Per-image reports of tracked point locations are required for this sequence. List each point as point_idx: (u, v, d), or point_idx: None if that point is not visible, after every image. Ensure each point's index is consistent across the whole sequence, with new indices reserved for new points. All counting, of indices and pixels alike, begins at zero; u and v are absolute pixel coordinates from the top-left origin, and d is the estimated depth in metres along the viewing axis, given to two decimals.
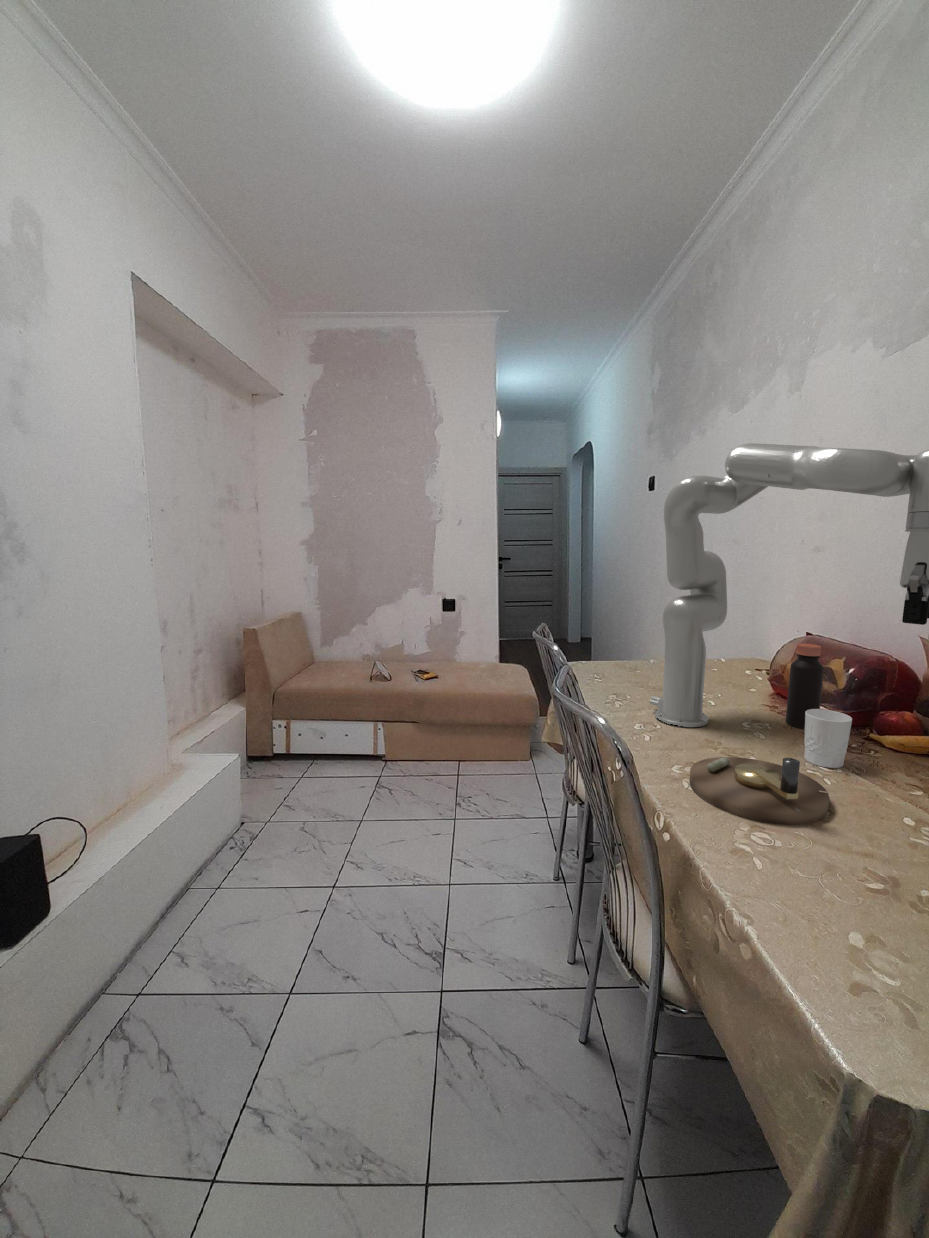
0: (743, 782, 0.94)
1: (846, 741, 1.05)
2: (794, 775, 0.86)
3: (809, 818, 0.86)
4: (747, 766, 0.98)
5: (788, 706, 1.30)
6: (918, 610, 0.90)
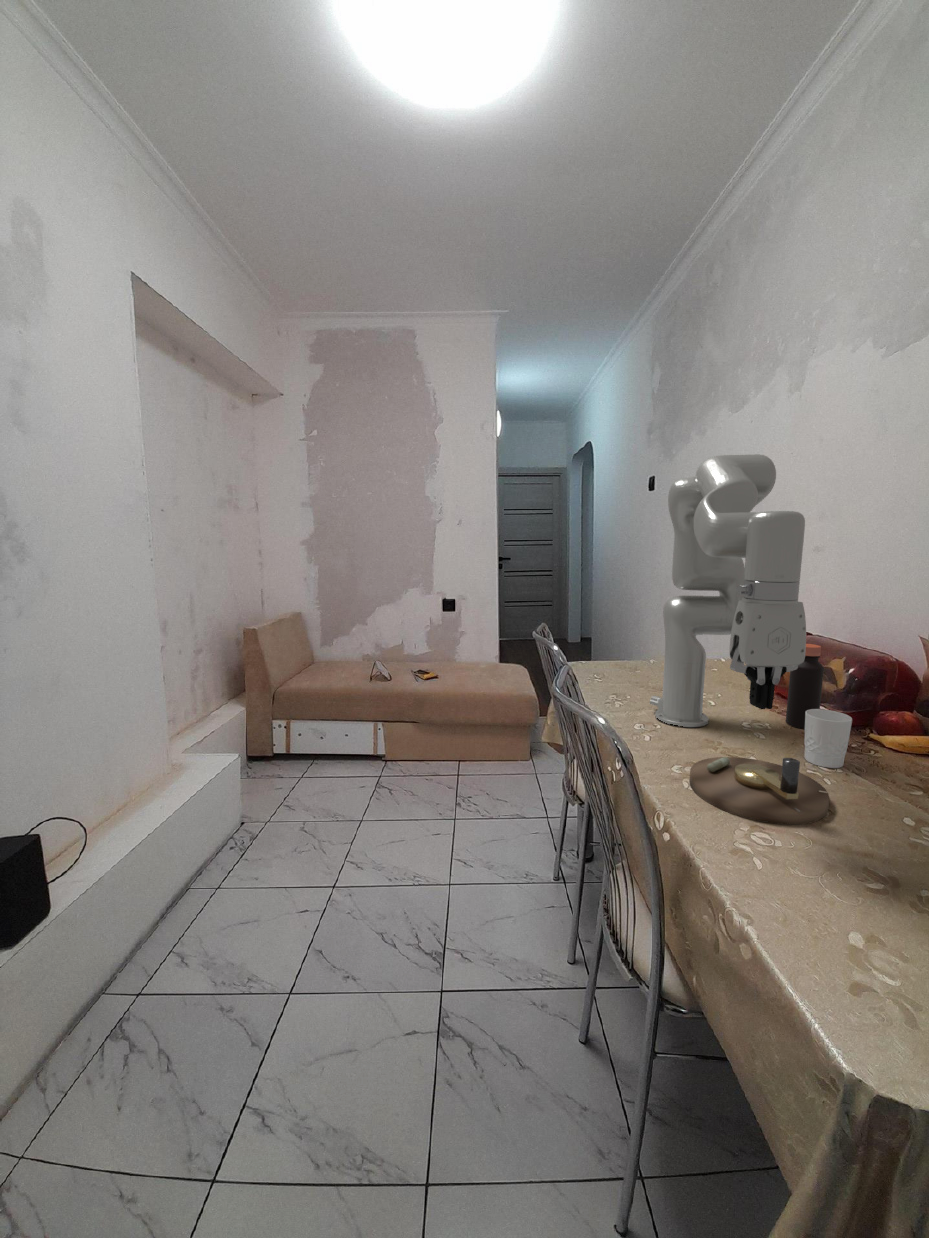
0: (743, 782, 0.94)
1: (846, 741, 1.05)
2: (794, 775, 0.86)
3: (809, 818, 0.86)
4: (747, 766, 0.98)
5: (788, 706, 1.30)
6: None
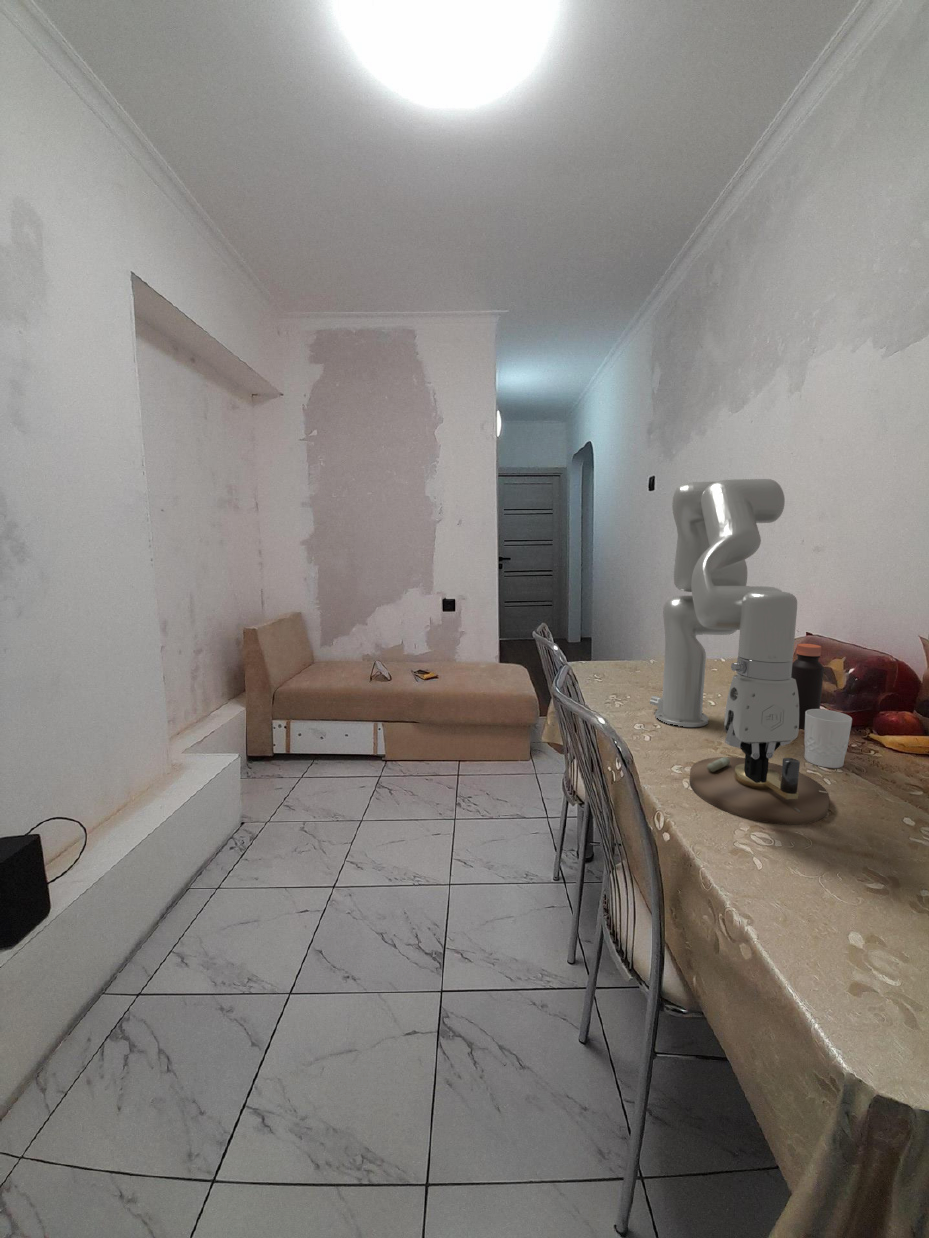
0: (743, 782, 0.94)
1: (846, 741, 1.05)
2: (794, 775, 0.86)
3: (809, 818, 0.86)
4: None
5: None
6: None
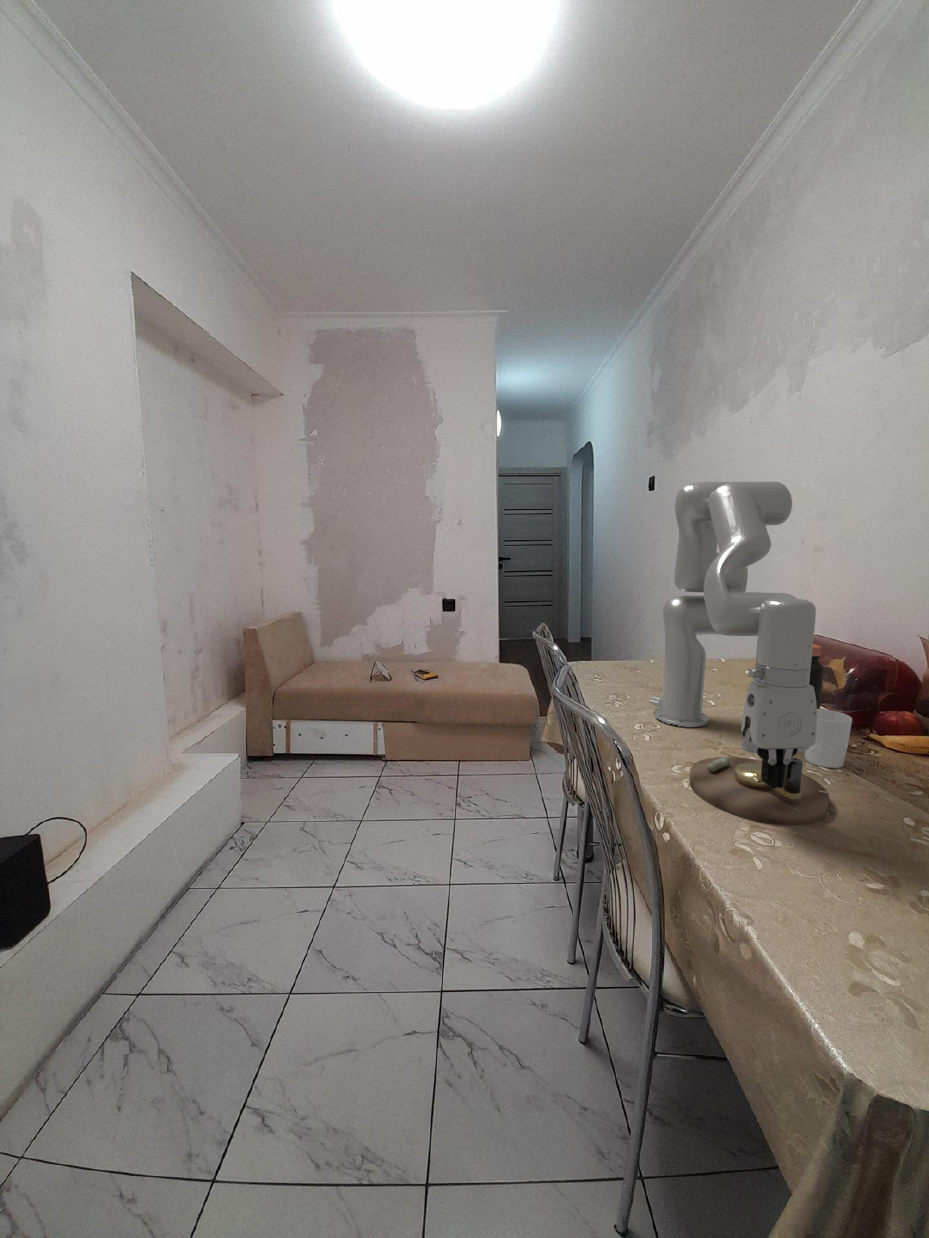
0: (744, 783, 0.94)
1: (846, 741, 1.05)
2: (797, 774, 0.86)
3: (809, 818, 0.86)
4: (747, 766, 0.98)
5: None
6: None
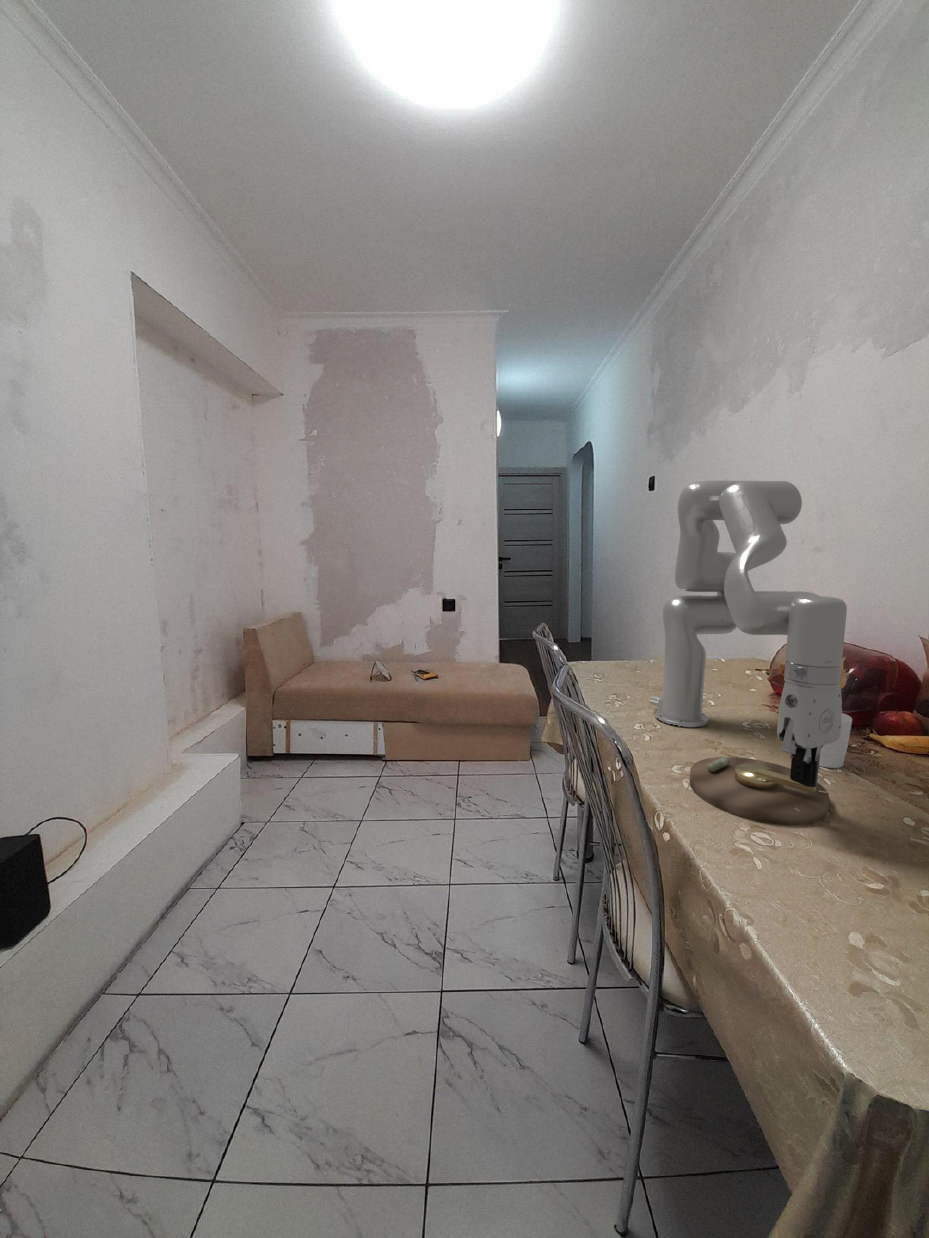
0: (758, 787, 0.93)
1: (846, 741, 1.05)
2: (818, 768, 0.88)
3: (809, 818, 0.86)
4: (742, 767, 0.97)
5: None
6: None
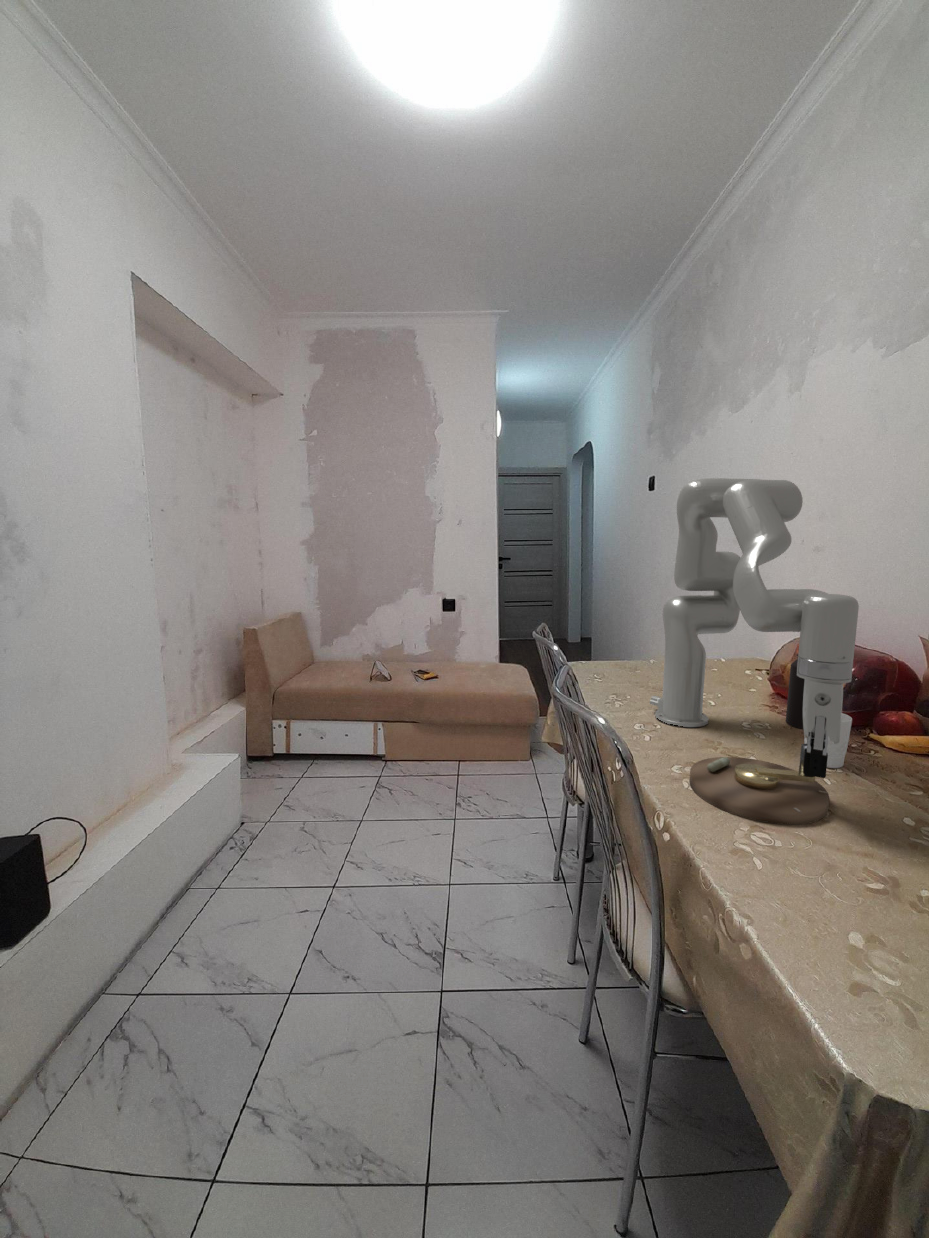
0: (769, 787, 0.92)
1: (846, 741, 1.05)
2: None
3: (809, 818, 0.86)
4: (742, 770, 0.96)
5: (788, 706, 1.30)
6: None
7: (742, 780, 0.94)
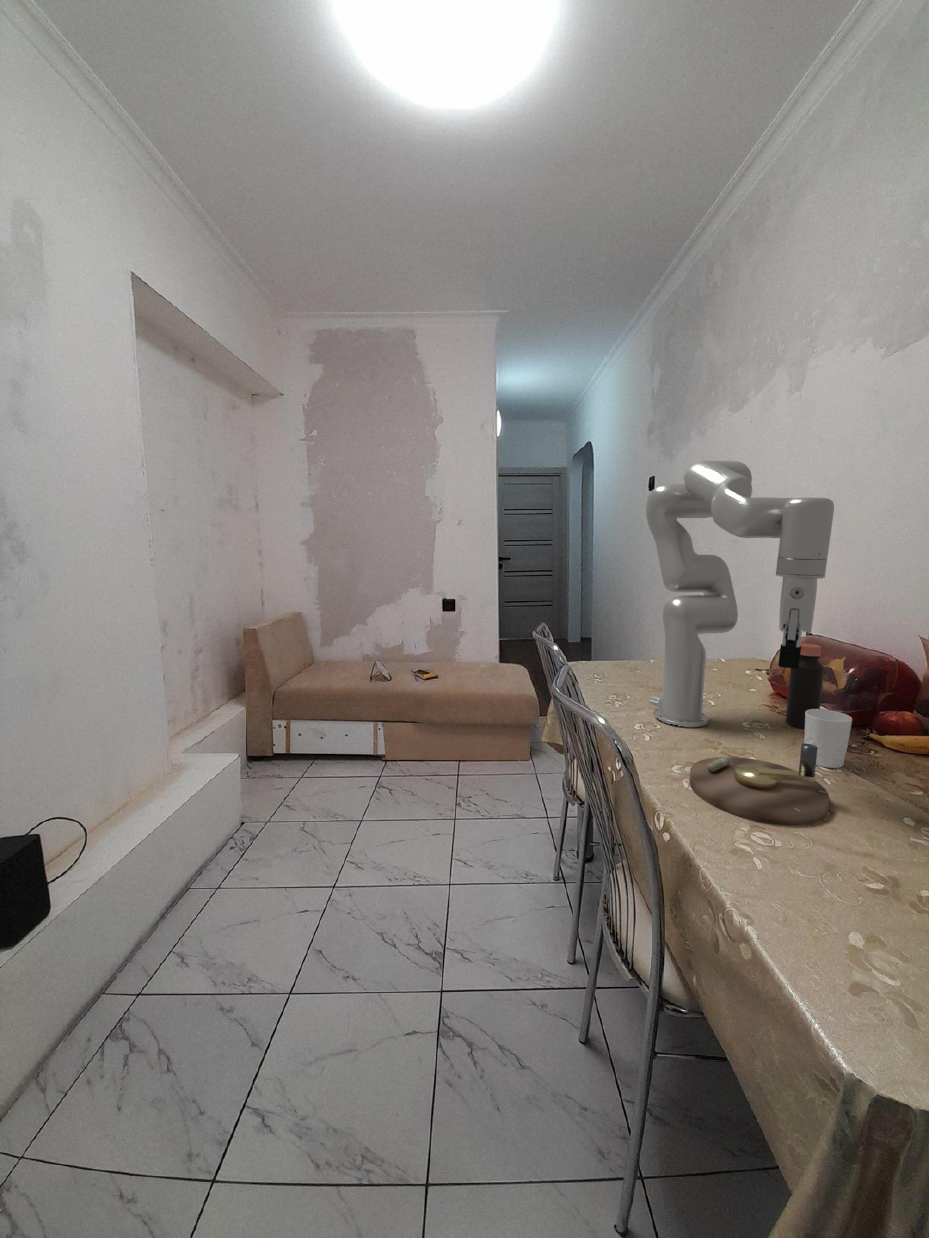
0: (769, 787, 0.92)
1: (846, 741, 1.05)
2: None
3: (809, 818, 0.86)
4: (742, 770, 0.96)
5: (788, 706, 1.30)
6: None
7: (742, 780, 0.94)
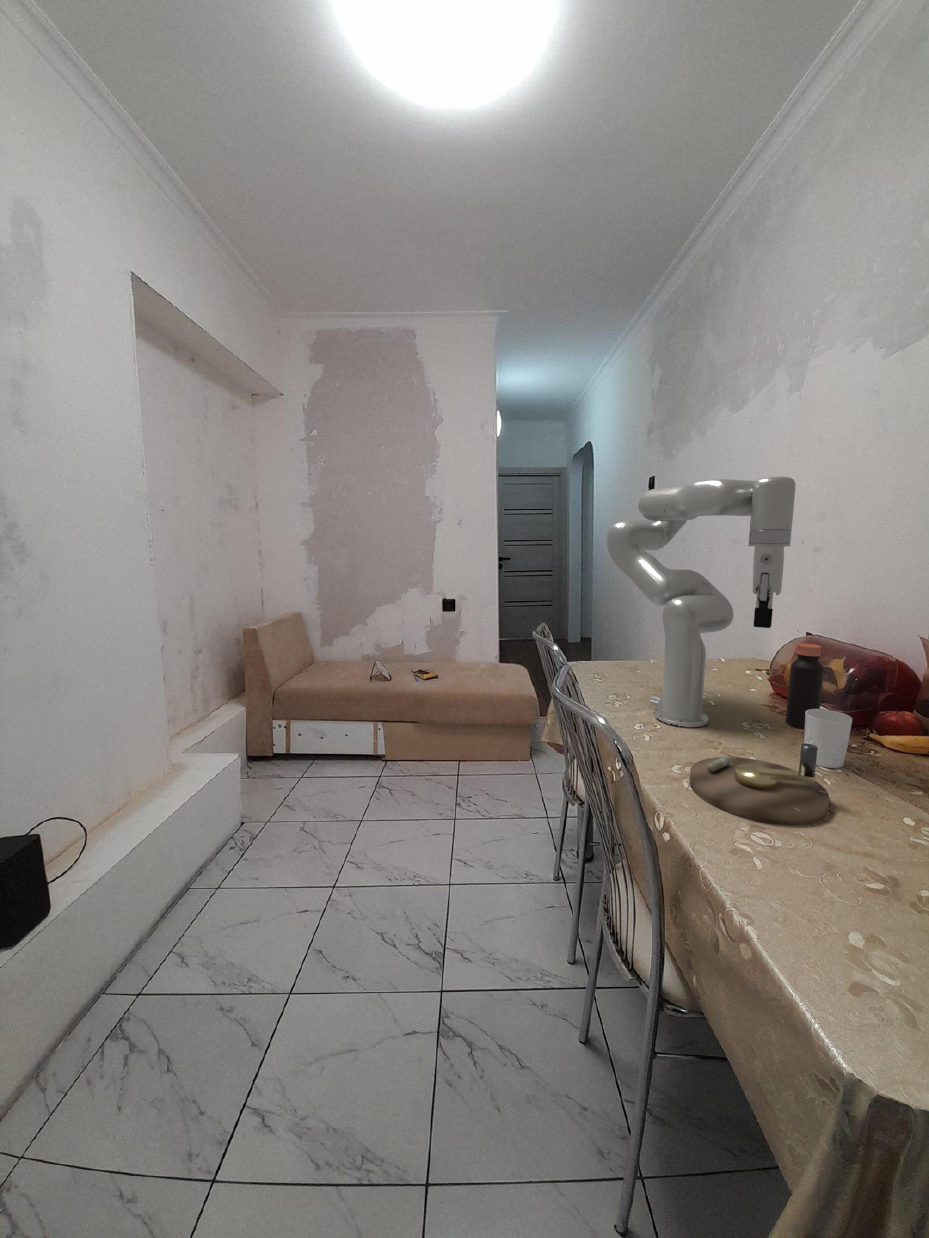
0: (769, 787, 0.92)
1: (846, 741, 1.05)
2: None
3: (809, 818, 0.86)
4: (742, 770, 0.96)
5: (788, 706, 1.30)
6: None
7: (742, 780, 0.94)
